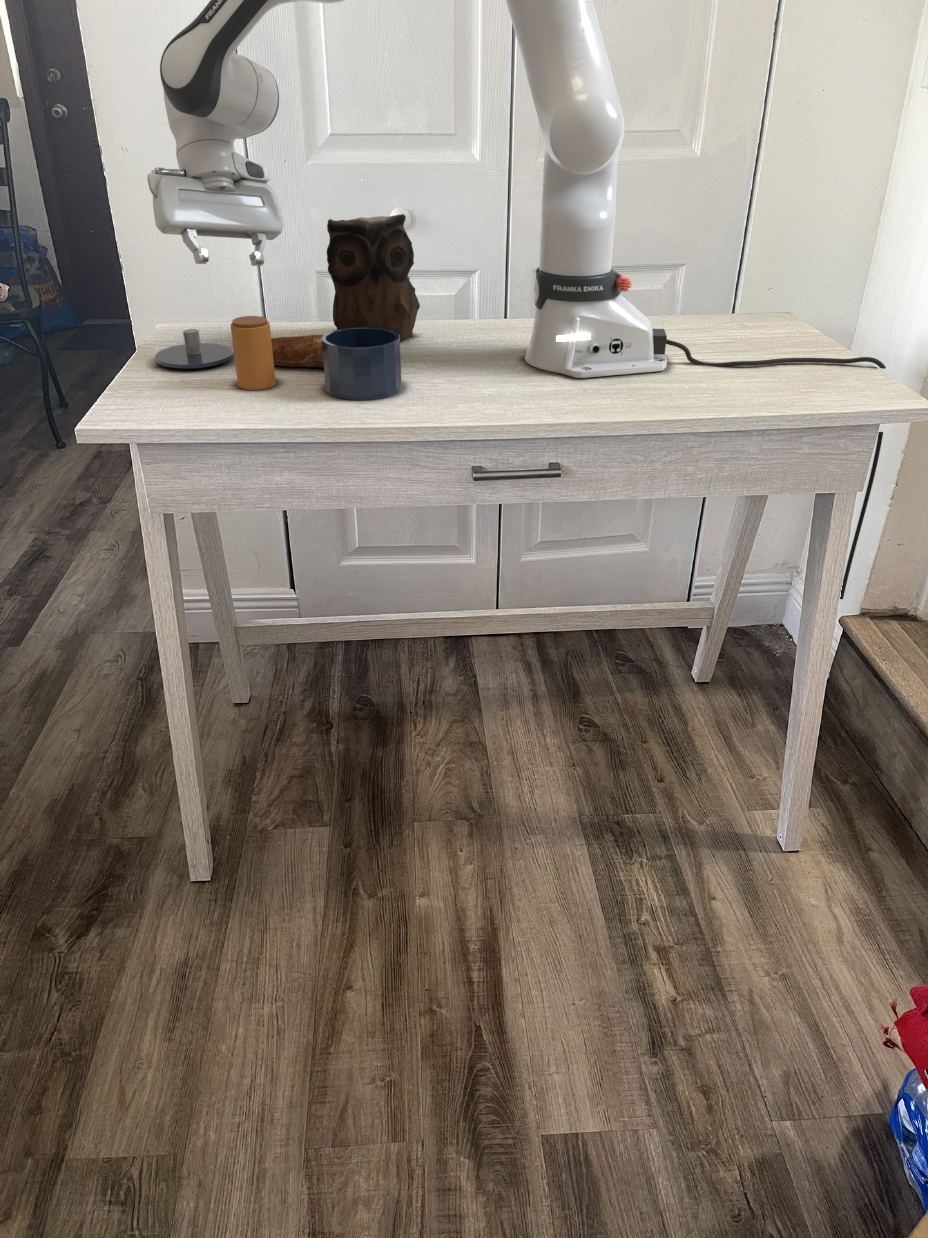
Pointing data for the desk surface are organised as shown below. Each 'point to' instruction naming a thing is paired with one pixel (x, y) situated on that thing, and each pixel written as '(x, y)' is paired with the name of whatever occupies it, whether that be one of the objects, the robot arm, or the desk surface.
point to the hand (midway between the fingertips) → (230, 263)
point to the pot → (362, 363)
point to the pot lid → (193, 353)
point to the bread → (298, 351)
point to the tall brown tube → (253, 352)
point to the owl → (372, 274)
